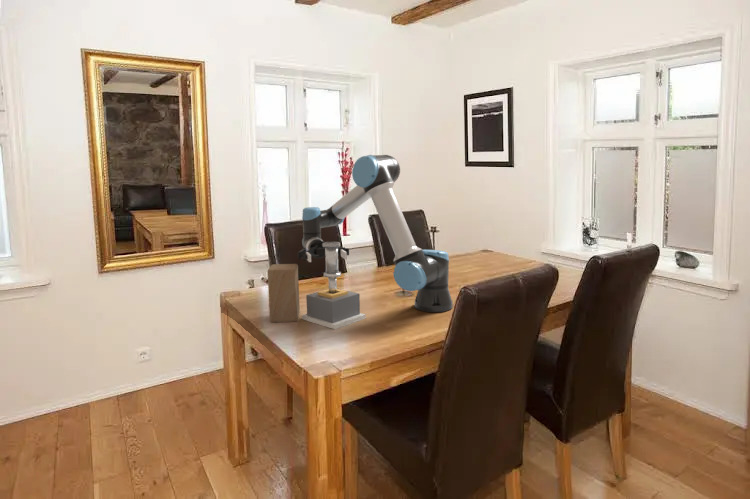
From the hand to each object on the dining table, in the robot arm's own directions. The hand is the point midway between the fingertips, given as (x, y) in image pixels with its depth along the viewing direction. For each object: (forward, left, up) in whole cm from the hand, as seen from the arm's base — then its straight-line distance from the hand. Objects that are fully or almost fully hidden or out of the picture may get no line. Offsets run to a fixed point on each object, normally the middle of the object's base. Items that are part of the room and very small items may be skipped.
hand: (328, 257), depth 198 cm
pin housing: (-3, +1, -23) cm, 23 cm away
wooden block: (+12, +12, -23) cm, 29 cm away
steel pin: (-3, +1, -15) cm, 15 cm away
